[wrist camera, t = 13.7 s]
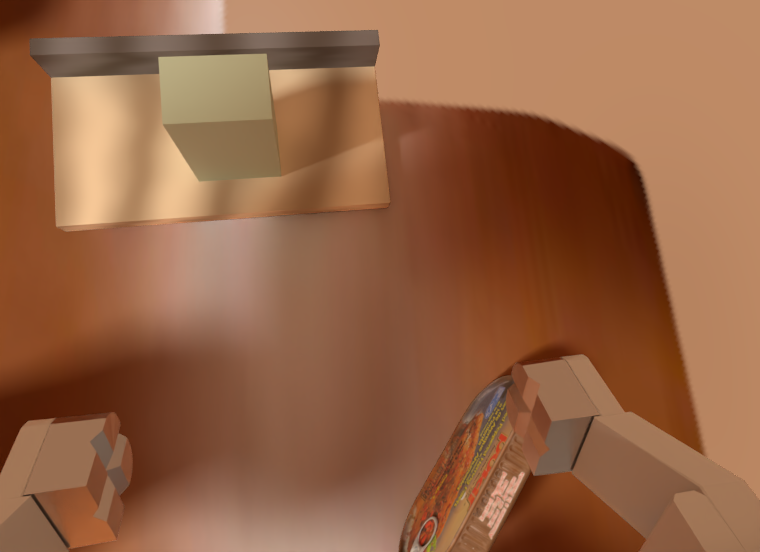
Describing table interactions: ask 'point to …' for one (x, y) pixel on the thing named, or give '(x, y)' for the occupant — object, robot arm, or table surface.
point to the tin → (470, 481)
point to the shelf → (162, 157)
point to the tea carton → (221, 115)
